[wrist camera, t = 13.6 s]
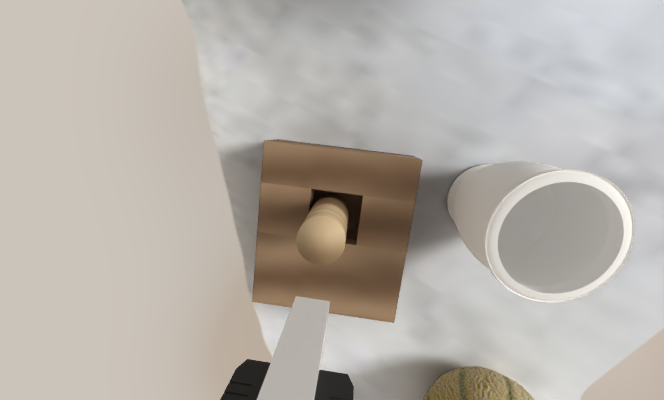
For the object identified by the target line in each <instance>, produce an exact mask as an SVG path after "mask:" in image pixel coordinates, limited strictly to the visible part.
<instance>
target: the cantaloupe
mask: <svg viewBox="0 0 664 400" xmlns="http://www.w3.org/2000/svg"><path fill="white" fill-rule="evenodd" d="M423 400H534V398H533V397H532V396H531V395H530V394H529V393H528V392H527V391H526V390H525V389H524V388H523V387H522V386H521V385H519V384H518V383H517V382H516V381H513V380H511V379H509V378H507V377H505V376H503V375H501V374H500V373H498V372H495V371H493V370H490V369H486V368H482V367H477V366H474V367H465V368H458V369H455V370H452V371H449V372H447V373H445V374H443V375H442V376H440V377H439V378H438V379H437V381H436V382H435V383H434V385H433V386H432V387H431V388H429V390H428V392H427V394H426V395H425V397H424V399H423Z"/></svg>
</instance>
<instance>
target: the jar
mask: <svg viewBox="0 0 664 400" xmlns="http://www.w3.org/2000/svg"><path fill="white" fill-rule="evenodd" d="M447 206H448V211H449V214H450V216H451V218H452V220H453V221H454V222H455V225H456V227H457V229H458V232H459V234H460V236H461V239H462V240H463V242H464V244H465V245H466V247H467V248H468V250H469V251H470V252H471V253H472V254H473V255H474V256H475V257H476V258H477V259H478V260H479V261H480V262H481V263H482V264H483V265H485V266H486V267H487V268H489V269H490V271H491V273H492V274H493V275H494V277H495V278H496V279H497V280H498V281H499V282H500V283H501V284H502V285H504V286H505V287H506V288H508V289H509V290H510V291H512V292H514V293H515V294H517V295H519V296H521V297H524V298H527V299H530V300H534V301H539V302H564V301H570V300H574V299H577V298H580V297H583V296H586V295H588V294H590V293H592V292H594V291H596V290H597V289H599V288H601V287H602V286H604V285H605V284H606V283H607V282H609V281H610V280H611V279H612V278H613V277H614V276H615V275H616V274H617V273H618V272H619V271H620V269H621V268H622V267H623V265H624V264H625V262H626V261H627V259H628V257H629V255H630V253H631V250H632V247H633V244H634V240H635V232H636V224H635V216H634V212H633V209H632V207H631V204H630V202H629V201H628V199H627V197H626V196H625V195H624V193H623V192H622V191H621V190H620V189H619V188H618V187H617V186H616V185H615V184H613V183H612V182H611V181H609V180H608V179H606V178H604V177H602V176H600V175H597V174H594V173H591V172H587V171H582V170H575V169H560V168H557V167H554V166H551V165H547V164H543V163H537V162H528V161H516V162H506V163H500V164H483V165H478V166H475V167H472V168H470V169H468V170H466V171H465V172H463V173H462V174H461V175H460V176H458V178H457V179H456V180H455V181H454V182H453V184H452V186H451V188H450V190H449V193H448V198H447Z"/></svg>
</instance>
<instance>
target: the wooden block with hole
mask: <svg viewBox="0 0 664 400" xmlns="http://www.w3.org/2000/svg"><path fill="white" fill-rule="evenodd" d="M421 166H422V160H421V159H418V158H416V157H414V156H409V155H401V154H392V153H384V152H376V151H368V150H360V149H352V148H344V147H335V146H327V145H319V144H311V143H303V142H295V141H287V140H278V139H277V140H266V141H264V147H263V161H262V175H261V188H260V202H259V216H258V230H257V243H256V257H255V271H254V284H253V298H252V302H258V303H265V304H271V305H278V306H285V307H292V305H293V302H294V300H295V297H296V296H298V297H305V298H312V299H318V300H325V301H330V305H329V312H328V313H332V314H339V315H345V316H352V317H359V318H366V319H372V320H379V321H386V322H393V323H394V320H395V314H396V309H397V303H398V297H399V292H400V286H401V280H402V274H403V269H404V263H405V257H406V252H407V246H408V240H409V234H410V229H411V223H412V217H413V212H414V206H415V200H416V194H417V189H418V183H419V177H420V172H421ZM326 194H335V195H338V196H340V197H341V198H343V199H344V200H345V202H346V203H347V205H348V209H349V214H348V215H349V218H348V224H347V232H346V242H345V248H344V251H343V253H342V255H341V256H340V257H339V258H338V259H337V260H336V261H334V262H332V263H330V264H327V265H316V264H313V263H310V262H308V261H307V260H306V259H304V258H303V257H302V256H301V254H300V253H299V251H298V248H297V245H296V237H297V233H298V231H299V229H300V227H301V226H302V224H303V222H304V221H305V219H306V217H307V216H308V214H309V212H310V210H311V208H312V206H313V205H314V204H315V202H316V201H317V200H318V199H319V198H320V197H321V196H323V195H326Z"/></svg>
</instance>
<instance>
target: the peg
mask: <svg viewBox="0 0 664 400" xmlns="http://www.w3.org/2000/svg"><path fill="white" fill-rule="evenodd" d="M348 214H349V209H348V205H347V203H346V202H345V200H344V199H343V198H341V197H340V196H338V195H335V194H326V195H323V196H321V197H320V198H319V199H318V200H317V201H316V202H315V204H314V205H313V206H312V208H311V210H310V212H309V214H308V216H307V217H306V219H305V221H304V222H303V224H302V226H301V227H300V229H299V231H298V233H297V237H296V245H297V248H298V251H299V253H300V254H301V256H302V257H303V258H304V259H306V260H307V261H308V262H310V263H313V264H316V265H327V264H330V263H332V262H334V261H336V260H337V259H338V258H339V257H340V256H341V255H342V253H343V251H344V248H345V242H346V232H347V224H348V218H349V215H348Z"/></svg>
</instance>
